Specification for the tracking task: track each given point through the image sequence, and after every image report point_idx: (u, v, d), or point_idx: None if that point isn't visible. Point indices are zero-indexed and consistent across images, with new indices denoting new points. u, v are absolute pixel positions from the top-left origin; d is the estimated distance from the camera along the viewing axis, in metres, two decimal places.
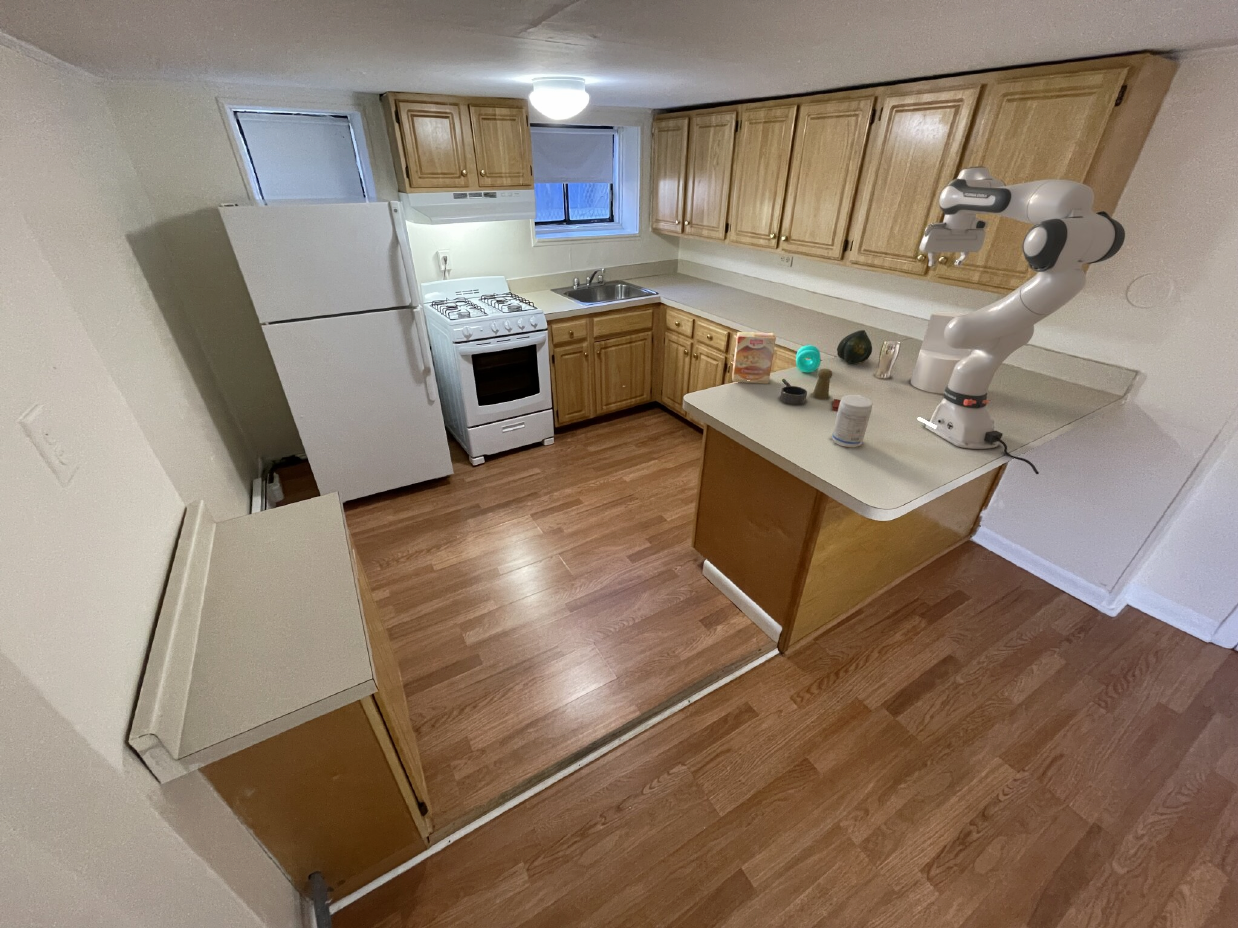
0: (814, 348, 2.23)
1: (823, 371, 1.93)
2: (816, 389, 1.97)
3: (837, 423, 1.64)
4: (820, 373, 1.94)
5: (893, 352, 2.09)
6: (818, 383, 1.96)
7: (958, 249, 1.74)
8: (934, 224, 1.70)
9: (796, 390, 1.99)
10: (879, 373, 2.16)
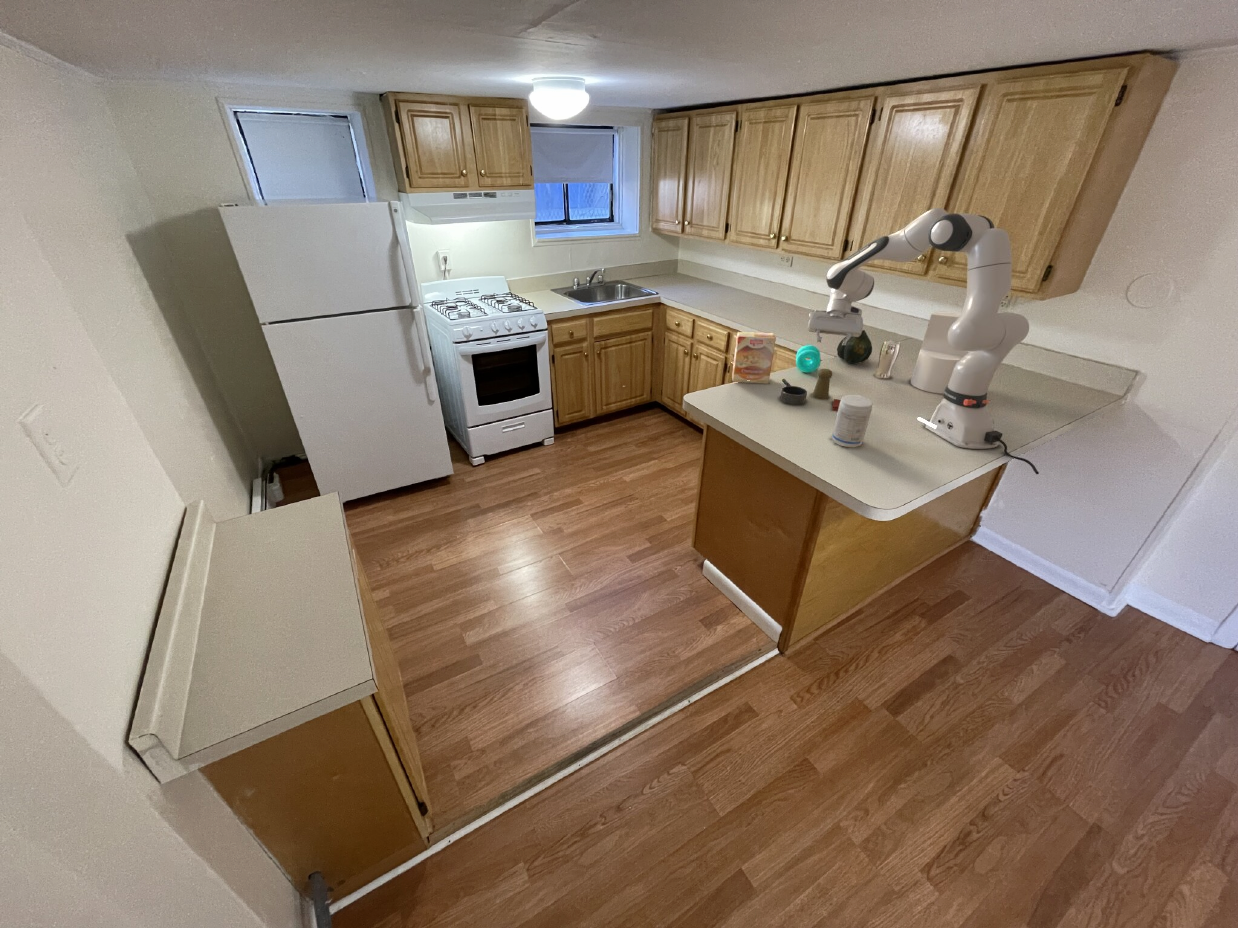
0: (814, 348, 2.23)
1: (823, 371, 1.93)
2: (816, 389, 1.97)
3: (837, 423, 1.64)
4: (820, 373, 1.94)
5: (893, 352, 2.09)
6: (818, 383, 1.96)
7: (839, 328, 2.00)
8: (816, 310, 2.06)
9: (796, 390, 1.99)
10: (879, 373, 2.16)
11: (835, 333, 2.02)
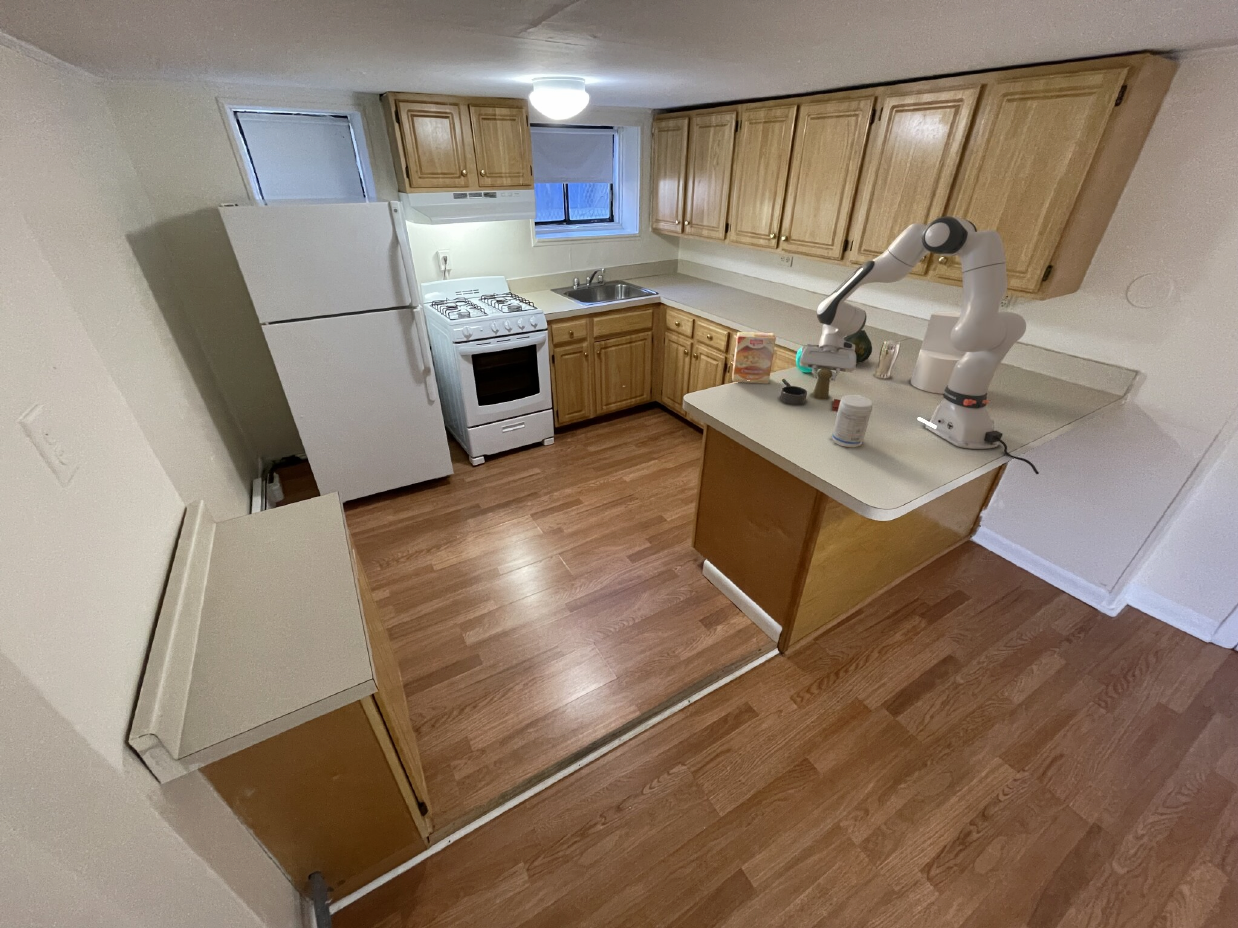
0: None
1: (823, 371, 1.93)
2: (816, 389, 1.97)
3: (837, 423, 1.64)
4: (820, 373, 1.94)
5: (893, 352, 2.09)
6: (818, 383, 1.96)
7: (832, 364, 1.94)
8: (808, 344, 2.00)
9: (796, 390, 1.99)
10: (879, 373, 2.16)
11: (828, 368, 1.97)
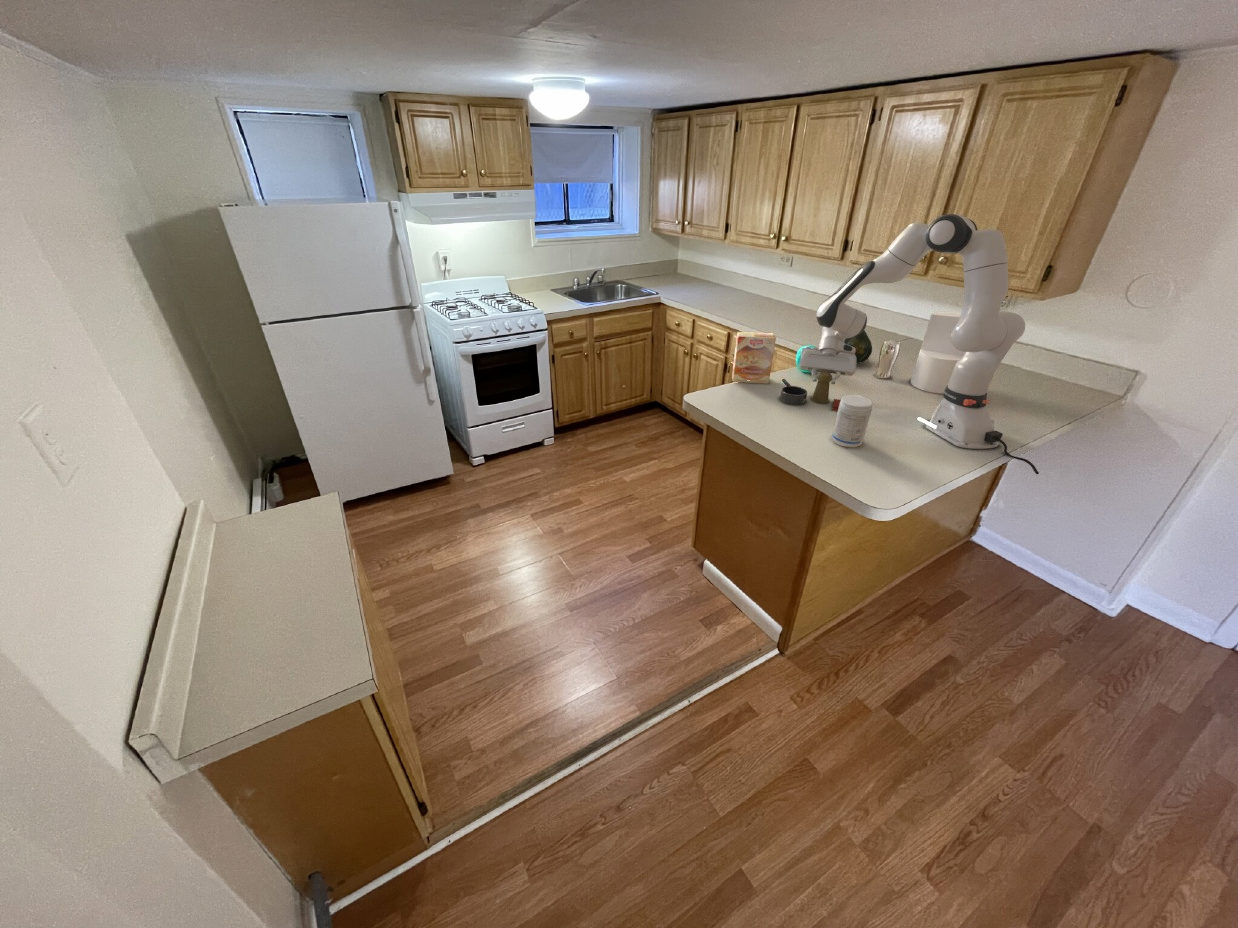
0: None
1: (823, 374, 1.90)
2: (816, 393, 1.94)
3: (837, 423, 1.64)
4: (820, 377, 1.91)
5: (893, 352, 2.09)
6: (818, 386, 1.93)
7: (832, 367, 1.91)
8: (807, 347, 1.97)
9: (796, 390, 1.99)
10: (879, 373, 2.16)
11: (828, 371, 1.94)
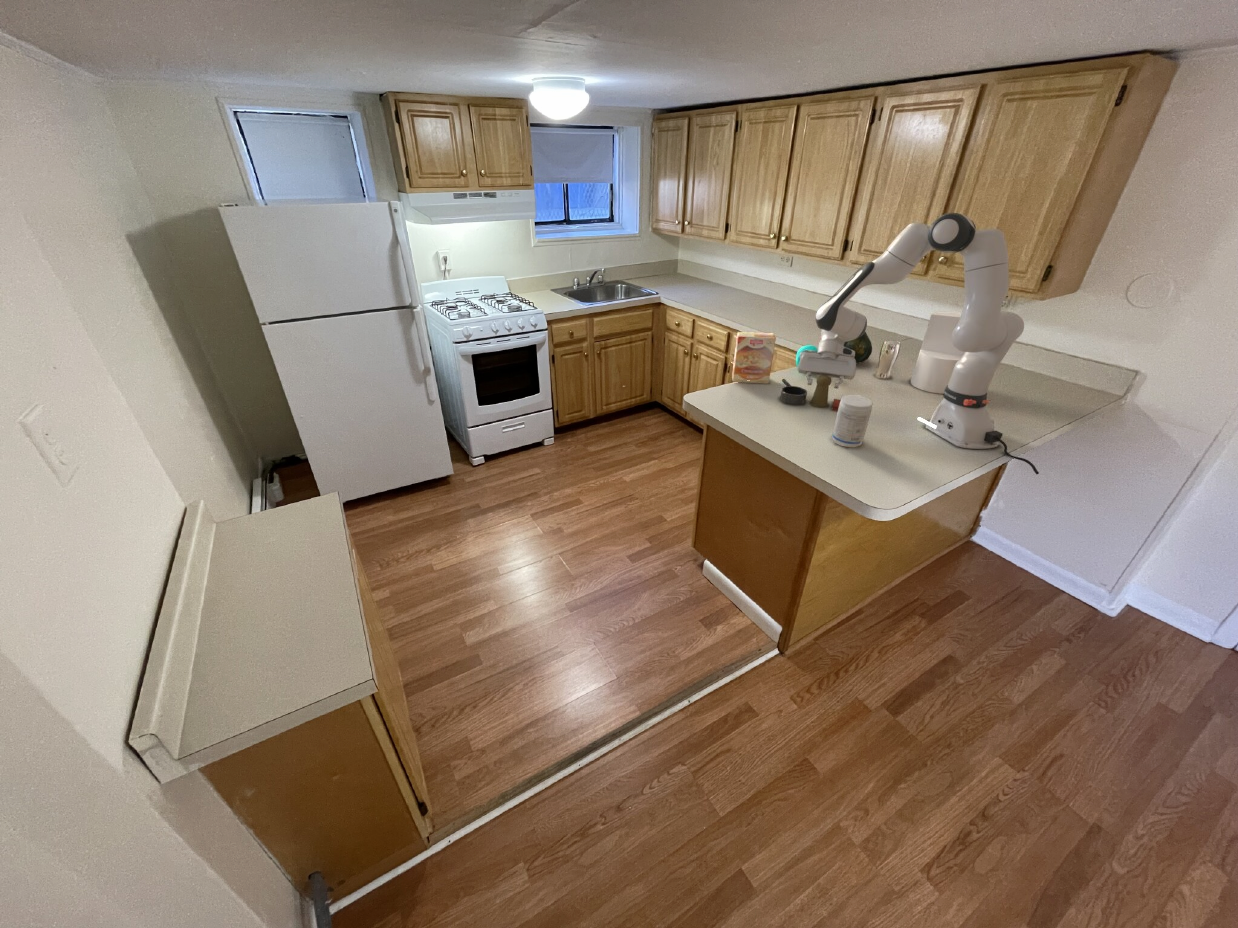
0: (814, 348, 2.23)
1: (822, 378, 1.87)
2: (815, 396, 1.91)
3: (837, 423, 1.64)
4: (819, 380, 1.88)
5: (893, 352, 2.09)
6: (817, 390, 1.90)
7: (831, 370, 1.88)
8: (806, 350, 1.94)
9: (796, 390, 1.99)
10: (879, 373, 2.16)
11: (827, 375, 1.91)
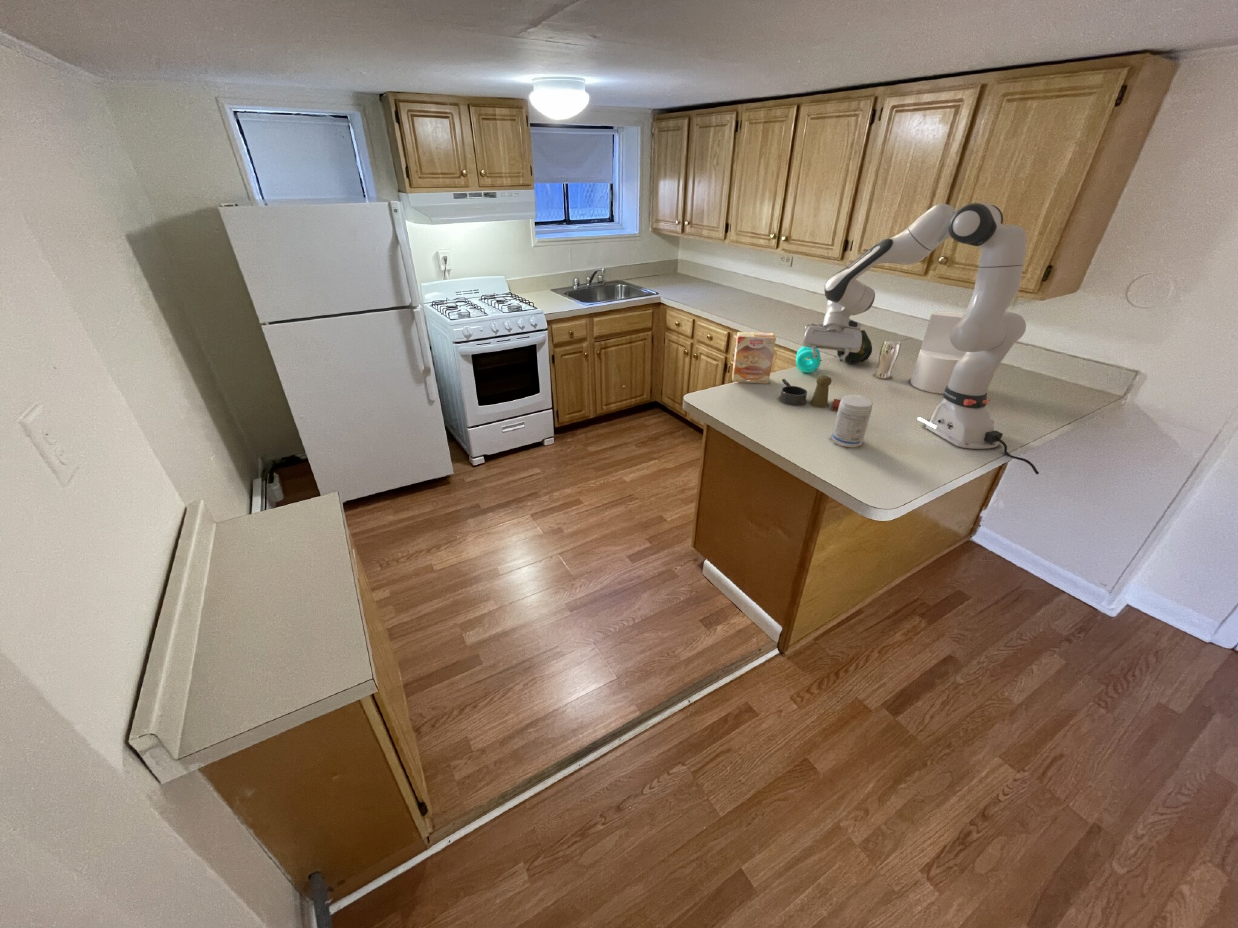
0: None
1: (822, 378, 1.87)
2: (815, 396, 1.91)
3: (837, 423, 1.64)
4: (819, 380, 1.88)
5: (893, 352, 2.09)
6: (817, 390, 1.90)
7: (837, 343, 1.86)
8: (811, 324, 1.93)
9: (796, 390, 1.99)
10: (879, 373, 2.16)
11: (832, 348, 1.89)
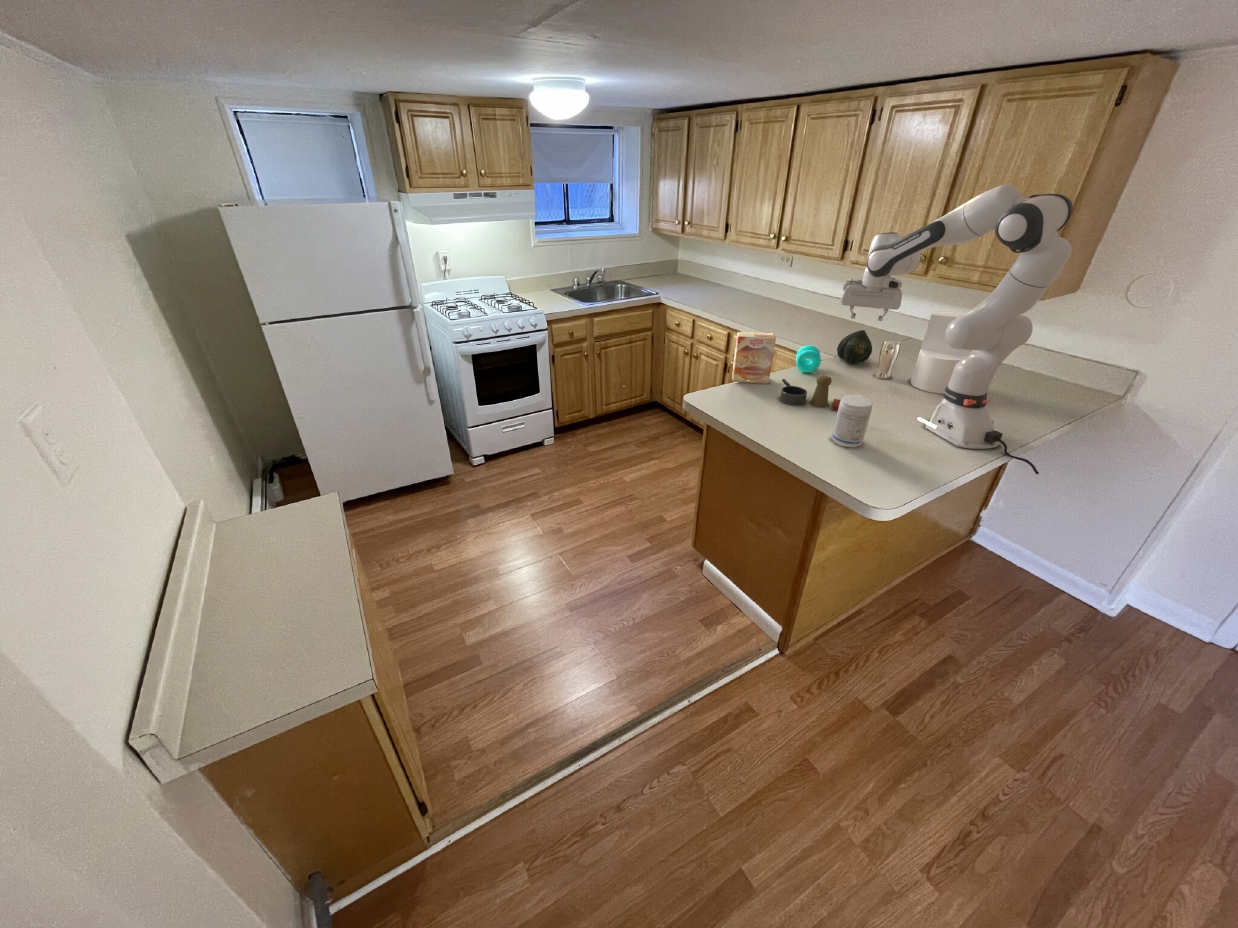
0: (814, 348, 2.23)
1: (822, 378, 1.87)
2: (815, 396, 1.91)
3: (837, 423, 1.64)
4: (819, 380, 1.88)
5: (893, 352, 2.09)
6: (817, 390, 1.90)
7: (875, 305, 1.87)
8: (850, 280, 1.87)
9: (796, 390, 1.99)
10: (879, 373, 2.16)
11: None
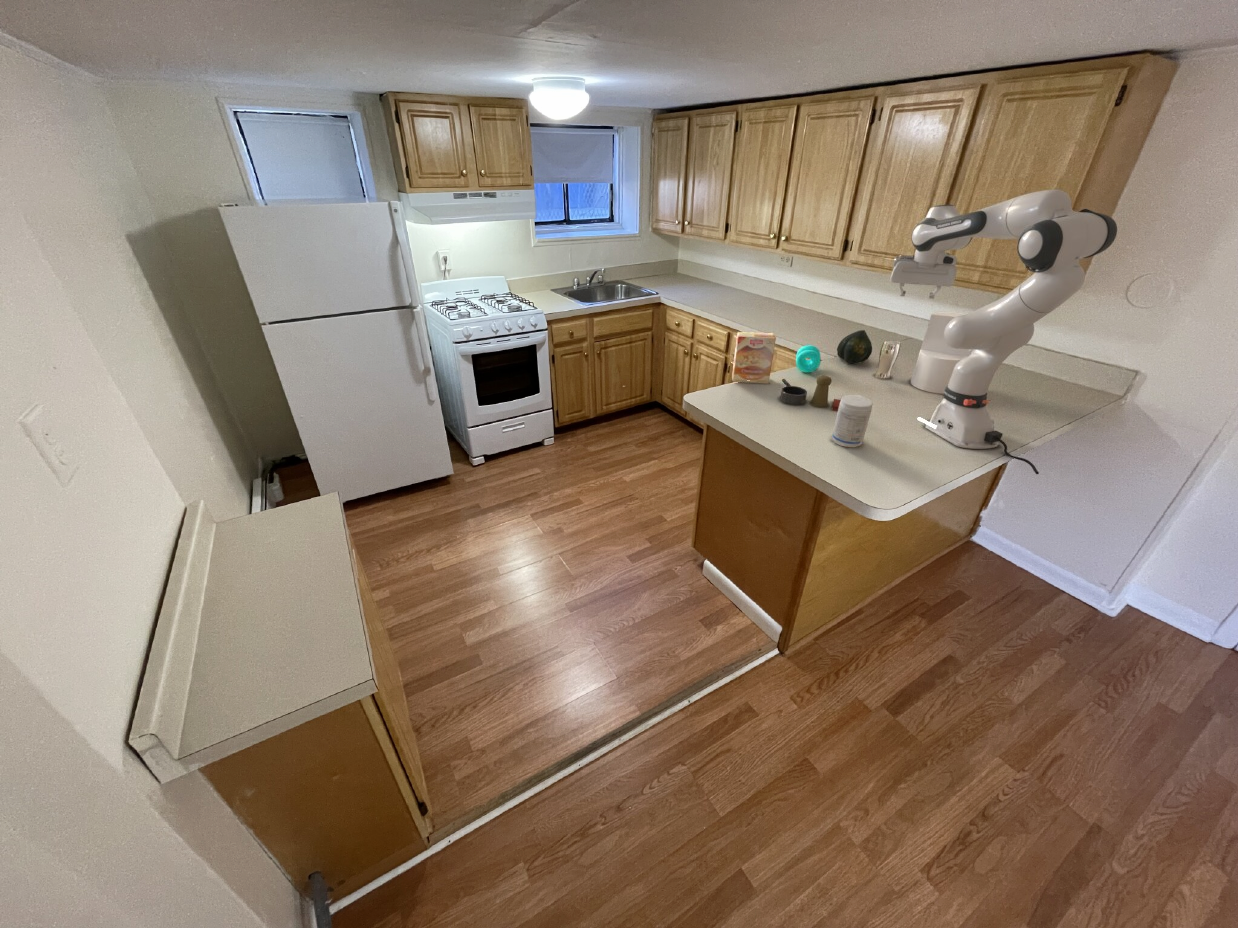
0: (814, 348, 2.23)
1: (822, 378, 1.87)
2: (815, 396, 1.91)
3: (837, 423, 1.64)
4: (819, 380, 1.88)
5: (893, 352, 2.09)
6: (817, 390, 1.90)
7: (927, 282, 1.79)
8: (901, 256, 1.80)
9: (796, 390, 1.99)
10: (879, 373, 2.16)
11: None
